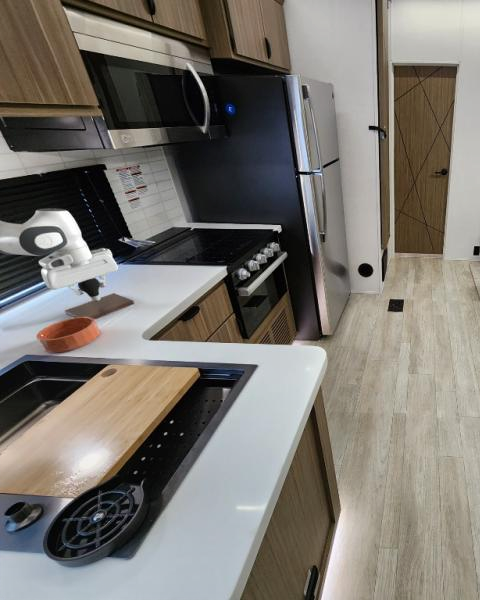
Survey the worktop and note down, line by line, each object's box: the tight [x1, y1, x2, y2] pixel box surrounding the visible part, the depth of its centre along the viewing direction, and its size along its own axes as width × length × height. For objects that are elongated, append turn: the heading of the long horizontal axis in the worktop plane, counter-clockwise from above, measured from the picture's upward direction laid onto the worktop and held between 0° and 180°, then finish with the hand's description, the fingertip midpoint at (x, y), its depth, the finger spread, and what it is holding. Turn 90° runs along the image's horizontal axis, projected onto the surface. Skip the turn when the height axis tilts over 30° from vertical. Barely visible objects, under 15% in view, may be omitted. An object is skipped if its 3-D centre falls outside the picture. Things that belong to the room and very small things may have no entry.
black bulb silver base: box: [77, 277, 101, 302], centre depth 121 cm, size 6×6×10 cm
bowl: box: [36, 317, 101, 353], centre depth 105 cm, size 14×14×5 cm
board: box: [64, 292, 135, 320], centre depth 125 cm, size 16×14×2 cm
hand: (91, 290), depth 121 cm, fingers closed on black bulb silver base, 6 cm apart
